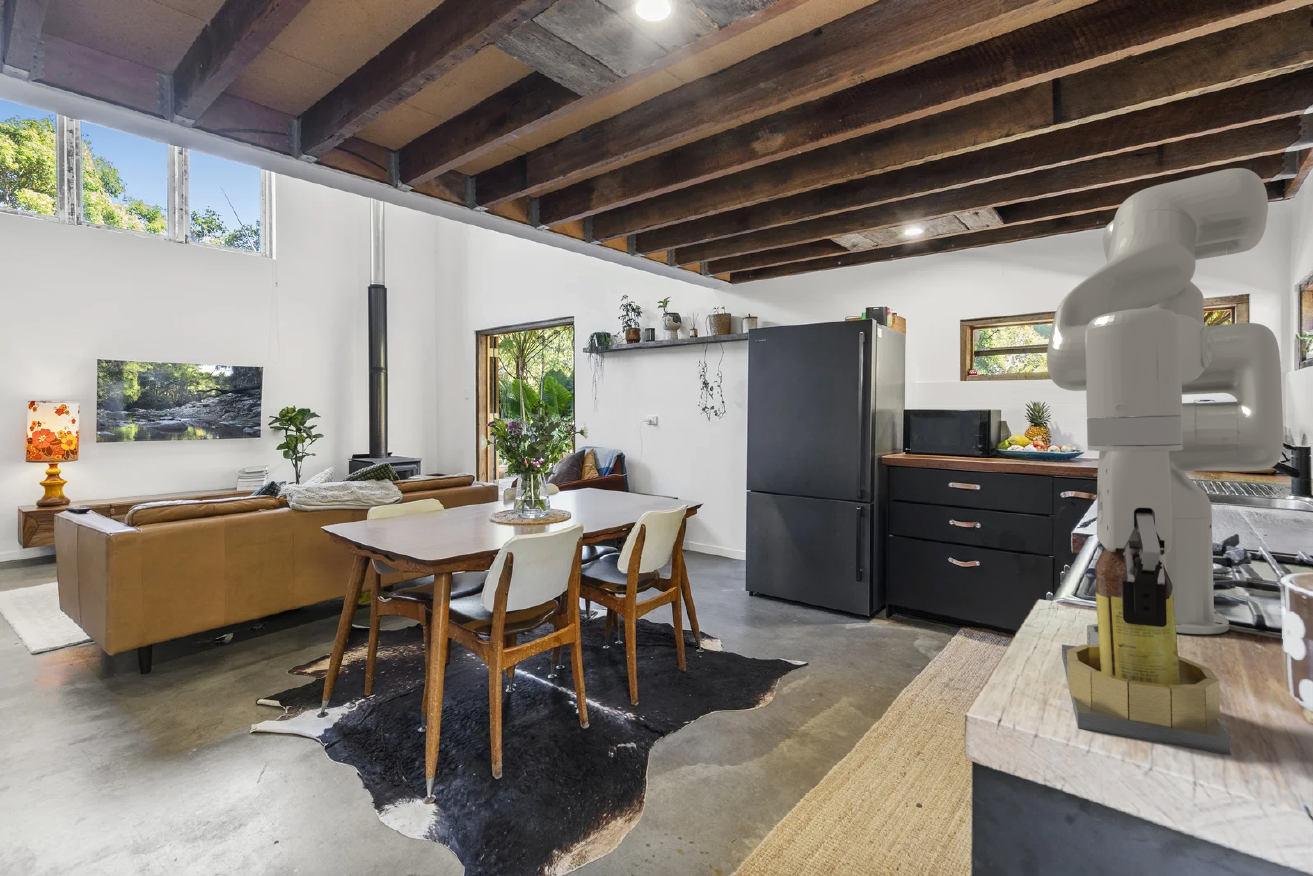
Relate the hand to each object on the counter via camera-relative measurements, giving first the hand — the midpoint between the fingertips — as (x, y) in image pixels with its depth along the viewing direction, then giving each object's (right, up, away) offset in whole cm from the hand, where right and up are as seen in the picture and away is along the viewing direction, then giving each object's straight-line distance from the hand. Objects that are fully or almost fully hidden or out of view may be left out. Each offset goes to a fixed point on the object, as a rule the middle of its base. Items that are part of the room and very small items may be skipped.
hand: (1136, 611), depth 61 cm
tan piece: (+2, -10, +4) cm, 11 cm away
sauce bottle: (0, -9, 0) cm, 9 cm away
